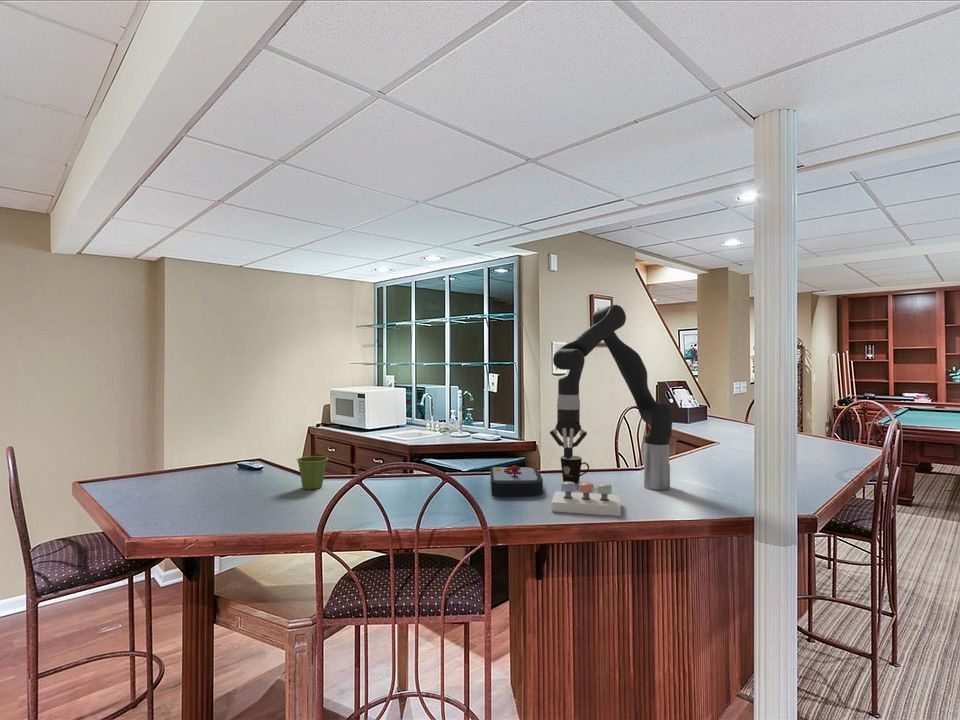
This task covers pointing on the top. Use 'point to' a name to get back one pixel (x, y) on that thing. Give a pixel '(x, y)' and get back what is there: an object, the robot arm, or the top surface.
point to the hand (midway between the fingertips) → (568, 458)
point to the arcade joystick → (516, 482)
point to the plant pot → (312, 471)
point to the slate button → (568, 488)
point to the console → (586, 504)
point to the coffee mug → (572, 468)
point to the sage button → (604, 491)
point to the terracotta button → (586, 489)
